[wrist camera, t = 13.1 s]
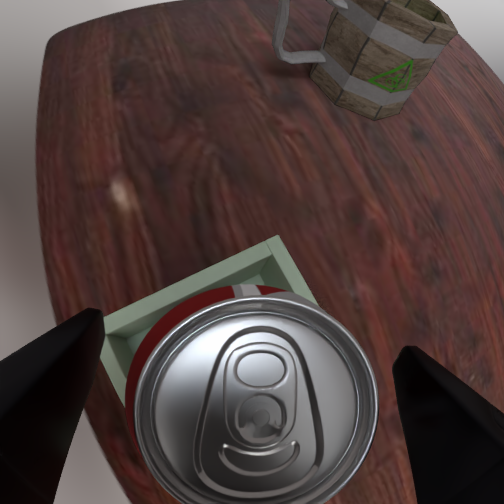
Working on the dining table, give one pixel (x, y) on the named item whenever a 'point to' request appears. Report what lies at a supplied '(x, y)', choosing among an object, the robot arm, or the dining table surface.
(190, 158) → the dining table surface
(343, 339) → the soda can
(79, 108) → the dining table surface
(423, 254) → the dining table surface
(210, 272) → the bin
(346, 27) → the mug
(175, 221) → the dining table surface
